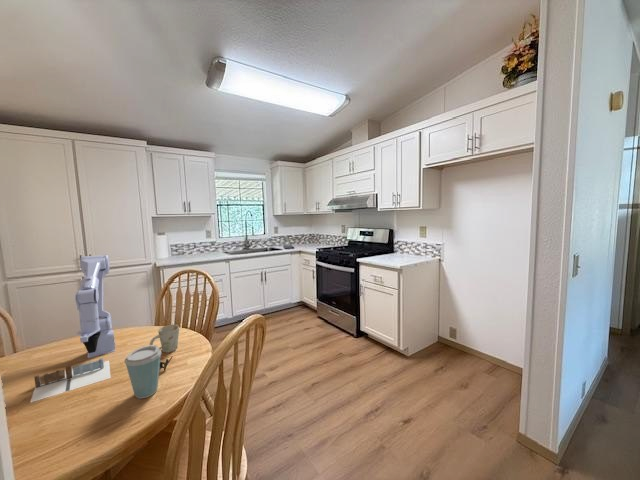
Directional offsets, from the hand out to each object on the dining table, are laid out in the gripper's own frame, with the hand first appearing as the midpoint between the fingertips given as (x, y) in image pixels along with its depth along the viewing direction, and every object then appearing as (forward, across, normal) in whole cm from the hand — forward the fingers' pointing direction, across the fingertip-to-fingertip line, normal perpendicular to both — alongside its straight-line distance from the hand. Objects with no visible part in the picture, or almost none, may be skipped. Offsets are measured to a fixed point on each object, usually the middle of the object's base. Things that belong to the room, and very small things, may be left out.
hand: (92, 352), depth 109 cm
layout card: (+7, +7, -4) cm, 10 cm away
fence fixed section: (+6, +6, -10) cm, 13 cm away
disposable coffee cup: (+7, +27, +22) cm, 35 cm away
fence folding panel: (+6, +4, 0) cm, 7 cm away
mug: (+7, -3, +25) cm, 26 cm away
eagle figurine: (+7, +12, +24) cm, 27 cm away
